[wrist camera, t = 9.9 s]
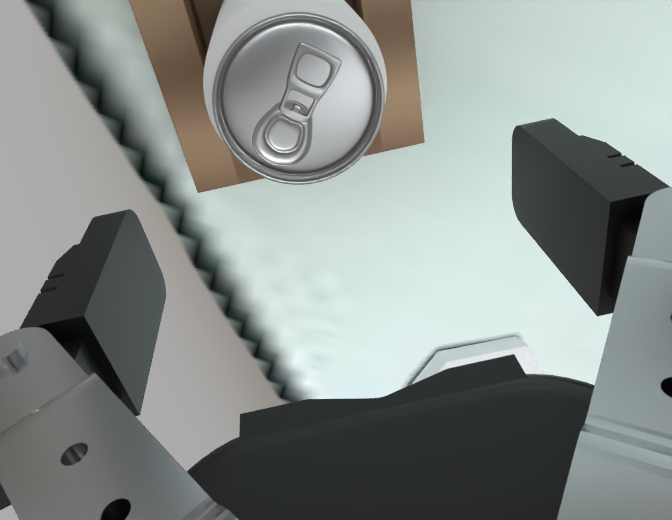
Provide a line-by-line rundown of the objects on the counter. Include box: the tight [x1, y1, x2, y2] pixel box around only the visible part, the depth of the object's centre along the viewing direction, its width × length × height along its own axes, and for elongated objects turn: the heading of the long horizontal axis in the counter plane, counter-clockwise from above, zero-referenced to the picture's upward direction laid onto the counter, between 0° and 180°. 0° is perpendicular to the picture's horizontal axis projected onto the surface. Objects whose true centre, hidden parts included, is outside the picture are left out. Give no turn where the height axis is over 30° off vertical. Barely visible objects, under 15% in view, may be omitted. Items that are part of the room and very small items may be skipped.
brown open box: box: [129, 0, 424, 193], centre depth 27 cm, size 12×12×4 cm
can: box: [203, 0, 387, 185], centre depth 23 cm, size 6×6×12 cm
